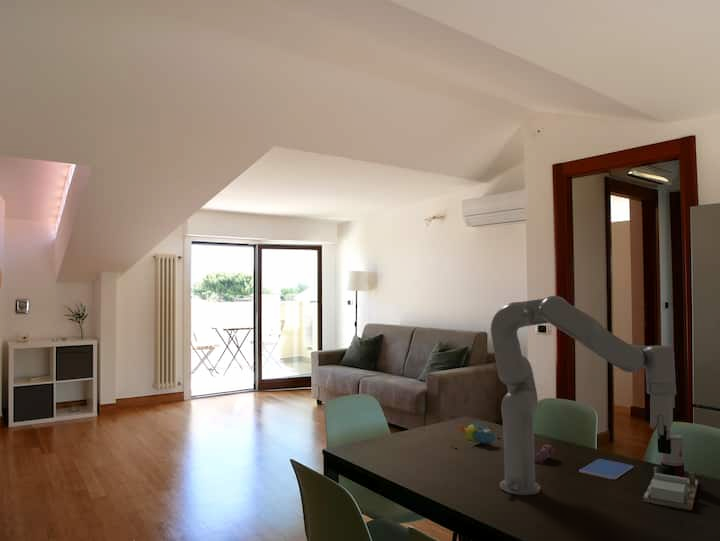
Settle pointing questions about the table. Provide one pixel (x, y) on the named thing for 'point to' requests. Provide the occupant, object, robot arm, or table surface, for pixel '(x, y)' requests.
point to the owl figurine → (478, 434)
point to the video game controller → (544, 453)
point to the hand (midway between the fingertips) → (664, 452)
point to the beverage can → (674, 458)
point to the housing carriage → (668, 488)
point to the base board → (688, 502)
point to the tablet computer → (606, 469)
